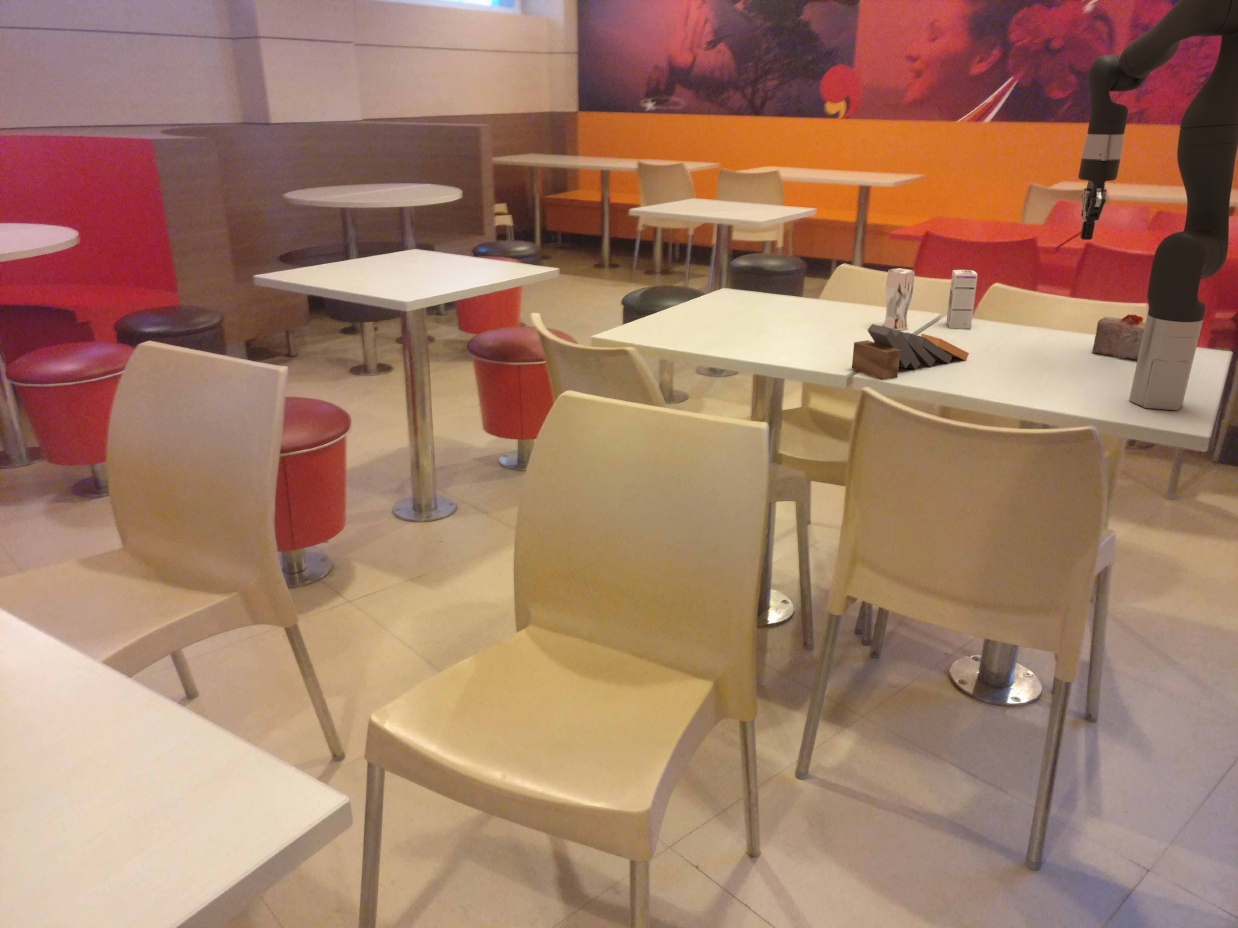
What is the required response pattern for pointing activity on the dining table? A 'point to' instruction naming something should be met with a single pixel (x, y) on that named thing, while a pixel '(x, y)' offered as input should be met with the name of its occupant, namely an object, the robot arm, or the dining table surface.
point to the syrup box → (961, 299)
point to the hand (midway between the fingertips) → (1085, 239)
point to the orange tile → (947, 347)
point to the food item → (1119, 336)
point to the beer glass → (898, 297)
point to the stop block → (876, 359)
